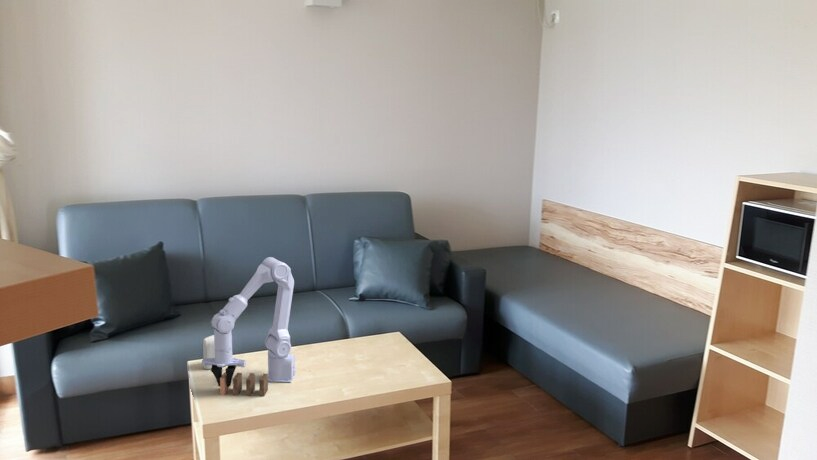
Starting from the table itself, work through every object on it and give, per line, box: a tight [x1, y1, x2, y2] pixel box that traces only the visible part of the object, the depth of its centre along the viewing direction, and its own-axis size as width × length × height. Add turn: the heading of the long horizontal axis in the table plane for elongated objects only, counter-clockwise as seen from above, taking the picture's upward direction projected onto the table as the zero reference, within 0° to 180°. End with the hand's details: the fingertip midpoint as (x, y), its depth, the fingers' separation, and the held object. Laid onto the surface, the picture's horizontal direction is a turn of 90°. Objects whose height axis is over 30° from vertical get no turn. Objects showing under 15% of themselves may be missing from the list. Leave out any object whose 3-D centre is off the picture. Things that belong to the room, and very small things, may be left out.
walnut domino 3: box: [258, 373, 269, 397], centre depth 211 cm, size 2×5×6 cm, turn 178°
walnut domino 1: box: [232, 372, 243, 396], centre depth 212 cm, size 2×5×6 cm, turn 178°
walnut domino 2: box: [245, 372, 256, 397], centre depth 211 cm, size 2×5×6 cm, turn 178°
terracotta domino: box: [219, 371, 230, 396], centre depth 212 cm, size 2×5×6 cm, turn 179°
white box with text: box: [202, 334, 215, 370], centre depth 231 cm, size 10×4×12 cm, turn 123°
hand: (224, 385), depth 212 cm, fingers open, 2 cm apart
